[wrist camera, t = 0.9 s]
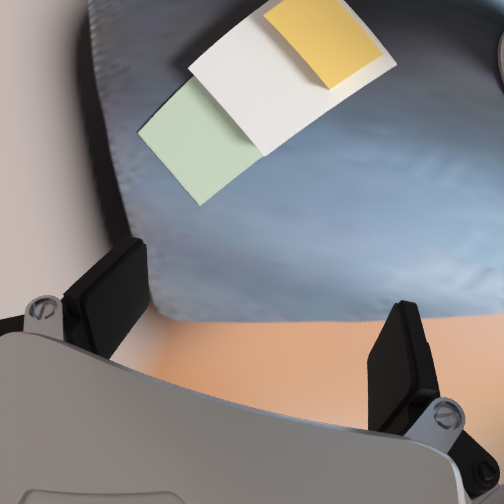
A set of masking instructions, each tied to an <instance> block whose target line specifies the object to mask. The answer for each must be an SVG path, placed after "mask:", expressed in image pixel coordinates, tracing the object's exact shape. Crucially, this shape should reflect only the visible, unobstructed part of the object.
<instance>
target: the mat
mask: <svg viewBox="0 0 504 504" xmlns="http://www.w3.org/2000/svg"><path fill="white" fill-rule="evenodd" d="M138 134H139V135H140V136H141V138H142V139H143V140H144V141H145V142H146V143H147V145H148V146H149V147H150V148H151V149H152V150H153V152H154V153H155V154H156V155H157V156H158V158H159V159H160V160H161V161H162V162H163V163H164V165H165V166H166V167H167V168H168V169H169V170H170V172H171V173H172V174H173V175H174V176H175V177H176V179H177V180H178V181H179V182H180V183H181V184H182V186H183V187H184V188H185V189H186V190H187V191H188V193H189V194H190V195H191V196H192V197H193V198H194V200H195V201H196V202H197V203H198V204H199V205H200V206H201V205H202V204H203V203H204V202H205V201H207V200H208V199H209V198H210V197H212V196H213V195H214V194H215V193H217V192H218V191H219V190H220V189H221V188H223V187H224V186H225V185H226V184H228V183H229V182H230V181H231V180H233V179H234V178H235V177H237V176H238V175H239V174H240V173H242V172H243V171H244V170H245V169H247V168H248V167H249V166H251V165H252V164H253V163H254V162H256V161H257V160H258V159H260V158H261V157H262V156H264V155H263V154H262V153H261V152H260V150H259V149H258V148H257V147H256V146H255V144H254V143H253V142H252V141H251V140H250V138H249V137H248V136H247V135H246V134H245V132H244V131H243V130H242V129H241V128H240V126H239V125H238V124H237V123H236V122H235V121H234V119H233V118H232V117H231V116H230V115H229V114H228V113H227V111H226V110H225V109H224V108H223V107H222V106H221V104H220V103H219V102H218V101H217V100H216V99H215V98H214V97H213V95H212V94H211V93H210V92H209V91H208V90H207V89H206V88H205V86H204V85H203V84H202V83H201V82H200V81H199V80H198V79H197V78H196V77H195V75H194V76H193V77H192V78H191V79H190V80H189V81H188V82H187V83H186V84H185V85H184V86H183V87H182V88H181V89H180V90H179V91H177V92H176V93H175V94H174V95H173V96H172V97H171V98H170V99H169V100H168V102H167V103H166V104H165V105H164V106H163V107H162V108H161V109H160V110H159V111H158V112H157V113H156V114H155V115H154V116H153V117H152V118H151V119H150V120H149V121H148V123H147V124H146V125H145V126H144V127H143V128H142V129H141V130H140V131H139V132H138Z"/></svg>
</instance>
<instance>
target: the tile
mask: <svg viewBox="0 0 504 504" xmlns="http://www.w3.org/2000/svg"><path fill="white" fill-rule="evenodd" d="M263 16H264V17H265V18H266V19H267V20H268V21H269V22H270V23H271V24H272V26H273V27H274V28H275V29H276V30H277V31H278V32H279V33H280V34H281V35H282V36H283V37H284V38H285V39H286V40H287V41H288V42H289V44H290V45H291V46H292V47H293V48H294V49H295V50H296V51H297V52H298V53H299V55H300V56H301V57H302V58H303V59H304V60H305V61H306V63H307V64H308V65H309V66H310V67H311V68H312V70H313V71H314V72H315V73H316V74H317V76H318V77H319V78H320V79H321V80H322V82H323V83H324V84H325V85H326V87H327V88H328V89H329V90H330V89H332V88H333V87H335V86H336V85H338V84H339V83H340V82H342V81H343V80H345V79H346V78H348V77H349V76H351V75H352V74H354V73H355V72H357V71H358V70H360V69H361V68H363V67H364V66H366V65H367V64H369V63H370V62H372V61H374V60H375V59H377V58H378V57H380V56H381V55H383V53H382V52H381V51H380V50H379V48H378V47H377V46H376V45H375V43H374V42H373V41H372V40H371V38H370V37H369V36H368V35H367V34H366V32H365V31H364V30H363V29H362V28H361V27H360V25H359V24H358V23H357V22H356V21H355V20H354V19H353V17H352V16H351V15H350V14H349V13H348V12H347V11H346V10H345V9H344V8H343V6H342V5H341V4H340V3H339V2H338V1H337V0H284V1H282V2H281V3H279V4H278V5H277V6H275V7H274V8H272V9H271V10H270V11H268V12H267V13H266V14H264V15H263Z"/></svg>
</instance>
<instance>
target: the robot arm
mask: <svg viewBox="0 0 504 504" xmlns="http://www.w3.org/2000/svg"><path fill="white" fill-rule="evenodd" d="M497 55H498V66H499V71H500V75H501V78H502V81H503V84H504V31H503V33H502V35H501V37H500V41H499V44H498V54H497ZM63 295H64V297H63V298H62V299H61V300H59V299H58V298H56V297H55V296H50V295H45V296H40V297H38V298H35V299H34V300H32V301H31V302H30V303H29V304H28V305H27V307H26V310H25V315H20V316H15V317H10V318H6V319H1V320H0V504H504V485H503V484H502V485H501V486H500V485H499V484H498V481H499V478H500V469H499V466H498V463H497V462H496V460H495V459H494V458H493V457H492V456H491V455H490V454H489V453H488V452H487V451H486V450H485V449H483V448H482V447H481V446H480V445H479V444H478V443H477V442H476V441H475V440H474V439H473V438H472V437H471V436H469V435H468V434H467V433H466V432H465V431H464V430H463V428H464V425H465V414H464V411H463V410H462V408H461V406H460V405H459V404H458V403H457V402H455V401H454V400H452V399H449V398H446V397H440V391H439V386H438V381H437V376H436V372H435V367H434V362H433V358H432V354H431V350H430V346H429V343H428V342H427V341H426V338H425V334H424V330H423V326H422V322H421V318H420V315H419V311H418V307H417V305H416V303H413V302H408V301H404V300H401V301H400V302H399V303H395V304H394V306H393V308H392V310H391V312H390V314H389V316H388V318H387V320H386V322H385V324H384V326H383V328H382V330H381V332H380V334H379V336H378V338H377V340H376V342H375V344H374V346H373V348H372V350H371V352H370V354H369V356H368V361H367V369H368V430H363V429H356V428H350V427H344V426H338V425H333V424H327V423H321V422H315V421H311V420H305V419H300V418H296V417H291V416H286V415H282V414H277V413H273V412H269V411H265V410H260V409H256V408H252V407H248V406H245V405H241V404H237V403H233V402H230V401H226V400H223V399H219V398H216V397H212V396H209V395H206V394H202V393H199V392H196V391H193V390H190V389H186V388H184V387H180V386H178V385H175V384H172V383H169V382H166V381H163V380H160V379H157V378H154V377H152V376H149V375H146V374H144V373H141V372H138V371H135V370H133V369H130V368H128V367H125V366H123V365H120V364H118V363H115V362H113V361H111V360H109V359H110V358H111V356H112V355H113V353H114V352H115V351H116V349H117V348H118V346H119V345H120V343H121V342H122V341H123V340H124V338H125V337H126V335H127V334H128V333H129V331H130V330H131V328H132V327H133V326H134V325H135V323H136V322H137V321H138V319H139V318H140V317H141V315H142V314H143V313H144V311H145V310H146V309H147V307H148V305H149V300H150V298H149V283H148V267H147V247H146V244H144V243H143V240H142V239H140V238H136V237H131V236H127V237H125V238H124V239H123V240H122V241H121V242H120V243H118V244H117V245H116V246H115V247H114V248H113V249H112V250H110V251H109V252H108V253H107V254H106V255H105V256H104V257H103V258H102V259H100V260H99V261H98V262H97V263H96V264H95V265H94V266H93V267H91V268H90V269H89V270H88V271H87V272H86V273H85V274H84V275H83V276H82V277H81V278H80V279H79V280H77V281H76V282H75V283H74V284H73V285H72V286H71V287H70V288H69V289H68V290H67V291H66V292H65V293H64V294H63Z"/></svg>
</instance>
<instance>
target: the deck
mask: <svg viewBox="0 0 504 504" xmlns="http://www.w3.org/2000/svg"><path fill="white" fill-rule="evenodd" d="M282 1H284V0H269V1H268V2H266V3H265V4H263V5H262V6H261V7H259V8H258V9H257V10H255V11H254V12H253V13H252V14H250V15H249V16H248V17H246V18H245V19H244V20H243V21H241V22H240V23H239V24H238V25H236V26H235V27H234V28H233V29H231V30H230V31H229V32H228V33H227V34H225V35H224V36H223V37H222V38H221V39H220V40H218V41H217V42H216V43H215V44H214V45H213V46H211V47H210V48H209V49H208V50H207V51H206V52H205V53H204V54H202V55H201V56H200V57H199V58H198V59H197V60H196V61H195V62H194V63H193V64H192V65H191V66H190V67H188V69H189V70H190V71H191V72H192V73H193V74H194V75H195V77H196V78H197V79H198V80H199V81H200V82H201V83H202V84H203V85H204V86H205V88H206V89H207V90H208V91H209V92H210V93H211V94H212V95H213V97H214V98H215V99H216V100H217V101H218V102H219V103H220V104H221V106H222V107H223V108H224V109H225V110H226V111H227V113H228V114H229V115H230V116H231V117H232V118H233V119H234V121H235V122H236V123H237V124H238V125H239V126H240V128H241V129H242V130H243V131H244V132H245V134H246V135H247V136H248V137H249V138H250V140H251V141H252V142H253V143H254V144H255V146H256V147H257V148H258V149H259V150H260V152H261V153H262V154H263V155H264V156H267V155H268V154H269V153H270V152H272V151H273V150H274V149H276V148H277V147H278V146H280V145H281V144H283V143H284V142H285V141H287V140H288V139H289V138H291V137H292V136H293V135H295V134H296V133H297V132H299V131H300V130H302V129H303V128H304V127H306V126H307V125H308V124H310V123H311V122H313V121H314V120H315V119H317V118H318V117H320V116H321V115H323V114H324V113H325V112H327V111H328V110H330V109H331V108H333V107H334V106H335V105H337V104H338V103H340V102H341V101H343V100H344V99H346V98H347V97H348V96H350V95H351V94H353V93H354V92H356V91H357V90H359V89H360V88H362V87H363V86H365V85H366V84H368V83H369V82H371V81H372V80H374V79H375V78H377V77H379V76H380V75H382V74H383V73H385V72H386V71H388V70H389V69H391V68H392V67H394V66H396V65H397V64H396V62H395V61H394V59H393V58H392V57H391V55H390V54H389V53H388V52H387V50H386V49H385V48H384V46H383V45H382V44H381V43H380V41H379V40H378V39H377V38H376V36H375V35H374V34H373V33H372V32H371V30H370V29H369V28H368V27H367V26H366V25H365V23H364V22H363V21H362V20H361V19H360V18H359V16H358V15H357V14H356V13H355V12H354V11H353V10H352V9H351V8H350V7H349V5H348V4H347V3H346V2H345V1H344V0H337V1H338V2H339V3H340V4H341V5H342V6H343V8H344V9H345V10H346V11H347V12H348V13H349V14H350V15H351V16H352V17H353V19H354V20H355V21H356V22H357V23H358V24H359V25H360V27H361V28H362V29H363V30H364V31H365V32H366V34H367V35H368V36H369V37H370V38H371V40H372V41H373V42H374V43H375V45H376V46H377V47H378V48H379V50H380V51H381V52H382V53H383V55H381V56H380V57H378V58H377V59H375V60H374V61H372V62H370V63H369V64H367V65H366V66H364V67H363V68H361V69H360V70H358V71H357V72H355V73H354V74H352V75H351V76H349V77H348V78H346V79H345V80H343V81H342V82H340V83H339V84H338V85H336V86H335V87H333V88H332V89H330V90H329V89H328V88H327V87H326V85H325V84H324V83H323V82H322V80H321V79H320V78H319V77H318V76H317V74H316V73H315V72H314V71H313V70H312V68H311V67H310V66H309V65H308V64H307V63H306V61H305V60H304V59H303V58H302V57H301V56H300V55H299V53H298V52H297V51H296V50H295V49H294V48H293V47H292V46H291V45H290V44H289V42H288V41H287V40H286V39H285V38H284V37H283V36H282V35H281V34H280V33H279V32H278V31H277V30H276V29H275V28H274V27H273V26H272V24H271V23H270V22H269V21H268V20H267V19H266V18H265V17H264V16H263V15H264V14H266V13H267V12H268V11H270V10H271V9H272V8H274V7H275V6H277V5H278V4H279V3H281V2H282Z"/></svg>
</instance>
